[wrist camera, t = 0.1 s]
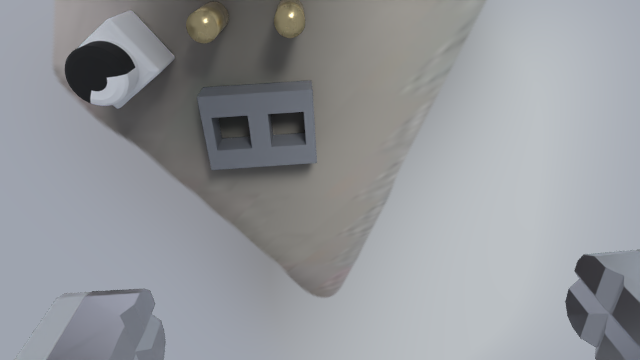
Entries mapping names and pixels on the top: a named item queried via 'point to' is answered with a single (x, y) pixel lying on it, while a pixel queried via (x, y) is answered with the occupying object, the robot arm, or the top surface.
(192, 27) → the pin
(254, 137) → the block
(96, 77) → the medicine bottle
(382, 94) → the top surface
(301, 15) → the pin
